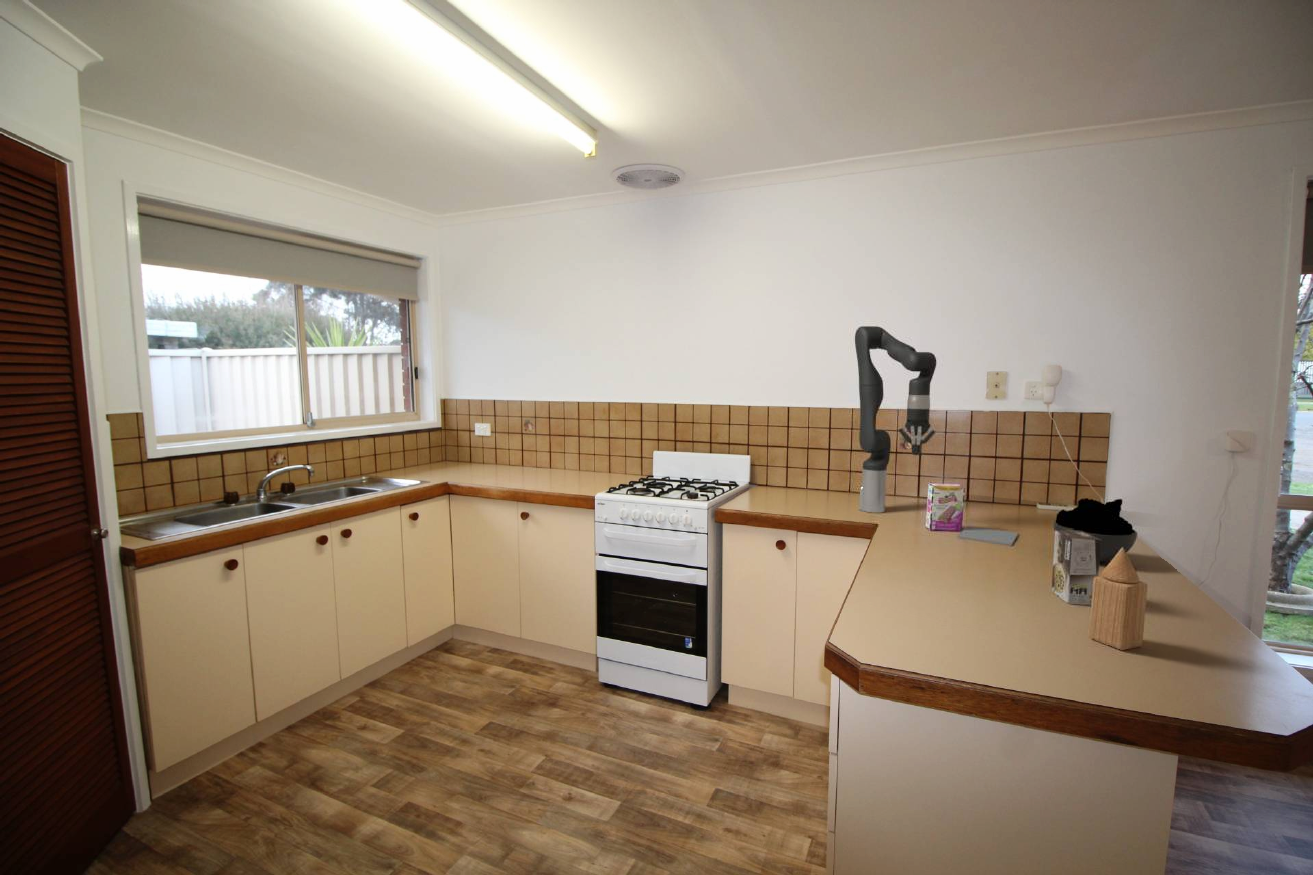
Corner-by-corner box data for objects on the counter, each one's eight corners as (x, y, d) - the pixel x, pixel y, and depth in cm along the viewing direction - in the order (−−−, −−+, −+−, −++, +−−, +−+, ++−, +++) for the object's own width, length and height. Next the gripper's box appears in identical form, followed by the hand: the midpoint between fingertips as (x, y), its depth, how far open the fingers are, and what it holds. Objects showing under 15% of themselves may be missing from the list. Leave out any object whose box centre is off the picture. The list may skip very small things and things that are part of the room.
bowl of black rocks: (1055, 564, 172) (1060, 500, 171) (1047, 547, 190) (1051, 489, 188) (1142, 574, 163) (1148, 507, 161) (1125, 556, 181) (1130, 495, 179)
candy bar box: (930, 531, 210) (932, 485, 208) (925, 527, 215) (927, 483, 213) (963, 532, 209) (965, 486, 207) (957, 528, 214) (959, 483, 212)
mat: (957, 537, 201) (957, 535, 201) (967, 527, 216) (967, 525, 215) (1011, 545, 192) (1011, 543, 192) (1018, 534, 206) (1018, 532, 206)
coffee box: (1097, 606, 140) (1102, 539, 138) (1067, 604, 141) (1072, 538, 140) (1078, 592, 149) (1083, 530, 147) (1050, 590, 150) (1054, 528, 149)
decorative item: (1087, 638, 122) (1094, 543, 120) (1108, 633, 125) (1116, 540, 123) (1122, 652, 116) (1130, 552, 114) (1143, 646, 119) (1152, 549, 117)
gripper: (896, 407, 215) (894, 454, 217) (935, 408, 207) (933, 457, 209) (902, 406, 221) (900, 452, 223) (940, 407, 213) (938, 455, 215)
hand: (916, 454), depth 216 cm, fingers closed
